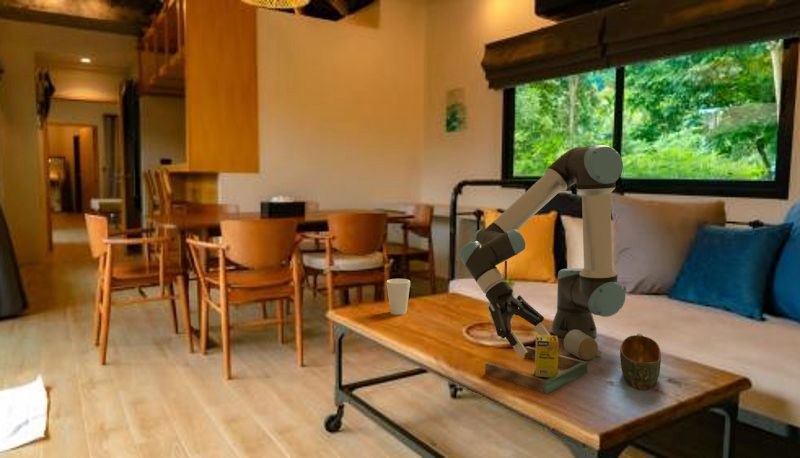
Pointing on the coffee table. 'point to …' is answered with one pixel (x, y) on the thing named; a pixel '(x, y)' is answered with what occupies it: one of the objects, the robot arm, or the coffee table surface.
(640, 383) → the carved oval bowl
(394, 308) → the foam cup
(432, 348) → the coffee table surface
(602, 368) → the coffee table surface
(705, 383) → the coffee table surface
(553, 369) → the supplement box
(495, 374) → the open frame
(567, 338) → the ceramic mug
